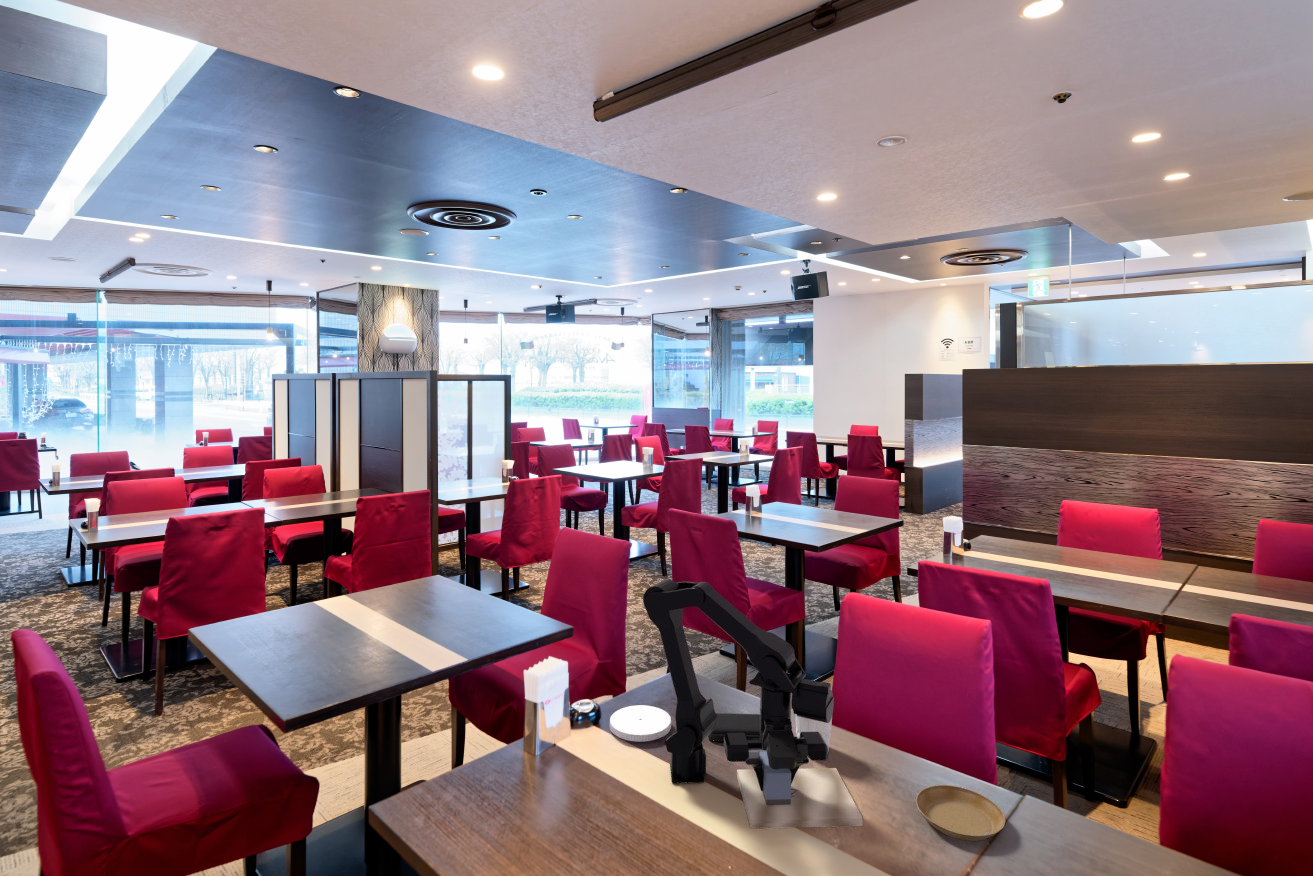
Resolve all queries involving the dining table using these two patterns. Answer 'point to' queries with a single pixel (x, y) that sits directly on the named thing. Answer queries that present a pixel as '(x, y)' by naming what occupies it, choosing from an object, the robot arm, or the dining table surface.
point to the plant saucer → (960, 812)
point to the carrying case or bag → (736, 726)
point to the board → (801, 801)
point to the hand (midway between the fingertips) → (774, 789)
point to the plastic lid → (640, 723)
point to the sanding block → (775, 783)
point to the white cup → (813, 727)
